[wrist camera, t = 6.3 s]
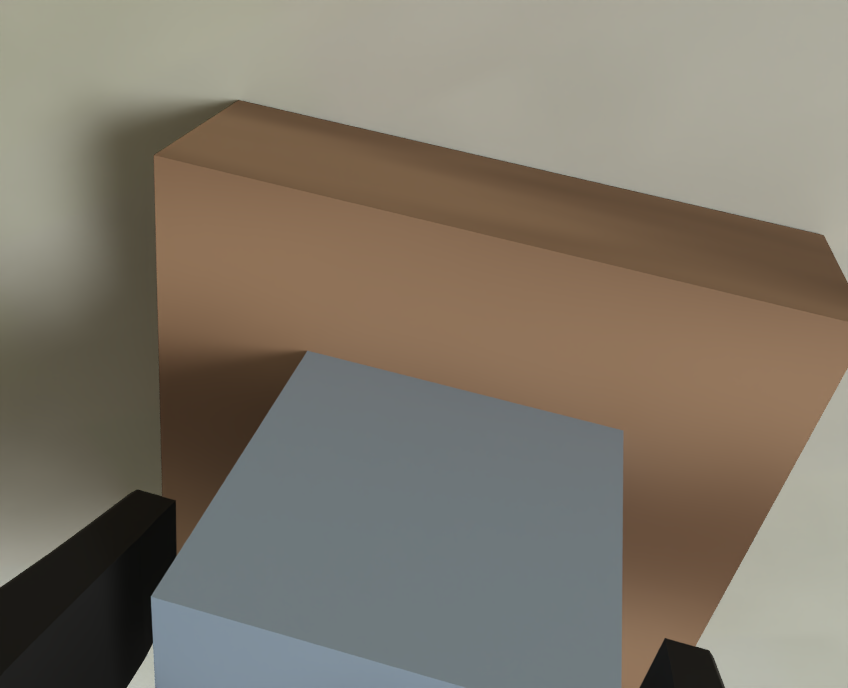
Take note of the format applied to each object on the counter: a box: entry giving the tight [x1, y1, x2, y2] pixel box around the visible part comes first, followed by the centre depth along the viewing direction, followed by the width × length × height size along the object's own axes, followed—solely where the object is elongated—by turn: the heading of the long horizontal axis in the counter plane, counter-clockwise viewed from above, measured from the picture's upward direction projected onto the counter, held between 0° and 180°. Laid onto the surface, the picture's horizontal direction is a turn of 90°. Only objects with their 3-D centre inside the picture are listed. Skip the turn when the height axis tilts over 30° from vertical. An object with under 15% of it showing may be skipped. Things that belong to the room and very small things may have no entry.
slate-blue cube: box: [151, 351, 623, 688], centre depth 12 cm, size 5×5×5 cm
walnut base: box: [154, 100, 848, 688], centre depth 15 cm, size 10×10×3 cm
